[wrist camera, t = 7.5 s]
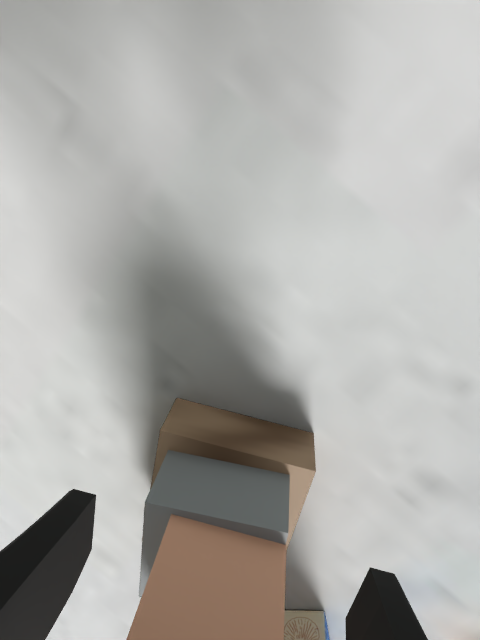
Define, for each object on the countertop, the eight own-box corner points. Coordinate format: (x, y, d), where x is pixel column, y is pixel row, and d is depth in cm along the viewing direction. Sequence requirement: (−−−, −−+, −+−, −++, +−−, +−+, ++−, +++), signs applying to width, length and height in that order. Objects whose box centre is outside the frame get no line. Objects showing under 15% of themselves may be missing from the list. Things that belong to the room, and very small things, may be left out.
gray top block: (289, 474, 18) (288, 533, 15) (269, 560, 20) (264, 625, 17) (168, 449, 18) (144, 502, 15) (160, 536, 20) (139, 596, 17)
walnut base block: (313, 428, 20) (315, 471, 17) (279, 527, 23) (276, 577, 20) (178, 394, 21) (159, 430, 18) (160, 495, 23) (142, 540, 20)
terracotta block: (286, 545, 15) (281, 712, 11) (259, 618, 17) (245, 789, 12) (171, 513, 15) (117, 665, 11) (156, 589, 17) (104, 747, 13)
